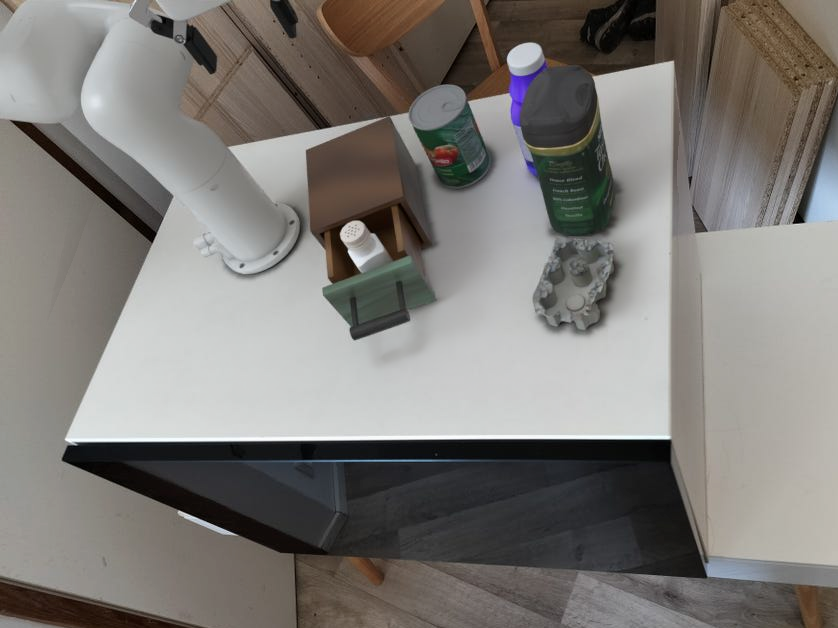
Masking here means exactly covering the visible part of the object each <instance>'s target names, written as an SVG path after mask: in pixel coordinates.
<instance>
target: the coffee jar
mask: <svg viewBox="0 0 838 628" xmlns="http://www.w3.org/2000/svg"><path fill="white" fill-rule="evenodd" d="M547 67H548V68H544V69H543V71H542V72H541V73H539V74H538V75H537V76H536V77H535V78H534V79H533V80H532V82H531V83H530V85H529V87H528V89H527V92H526V94H525V97H524V100H523V103H522V107H521V111H520V115H519V121H520V126H521V131H522V135H523V138H524V141H525V144H526V146H527V147H528V149H529V151H530V153H531V156H532V159H533V162H534V166H535V169H536V173H537V176H536V177H537V179H538V183H539V186H540V191H541V194H542V197H543V202H544V205H545V209H546V213H547V216H548V220H549V223H550V226H551V228H552V229H553V231H555V232H557V234H560V235H563V236H569V237H570V236H571V237H585V236H589V235H594V234H596V233H598V232H601V231H602V230H603V229H605V227H607V225H608V223H609V221H610V219H611V216H612V213H613V210H614V204H615V199H616V184H615V180H614V175H613V171H612V167H611V162H610V159H609V155H608V150H607V149H608V148H607V143H606V140H605V135H604V130H603V123H602V118H601V109H600V101H599V95H598V92H597V88H596V82H595V80H594V77H593V75H592V74H591V73H590V72H589V71H588V70H587V69H586V68H584V67H582V66H581V65H579V64H569V65H568V64H567V65H557V66H556V65H555V66H547Z"/></svg>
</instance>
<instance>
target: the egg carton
mask: <svg viewBox="0 0 838 628" xmlns="http://www.w3.org/2000/svg"><path fill="white" fill-rule="evenodd" d="M550 252H551V253H550V256H549V257H548V259H547V262H546V263H545V264H544V267H543V270H542V273H541V276H540V278H539V281H538V284H537V285H536V287H535V289H534V291H533V294H532V304H533V308H534V312H535V314H537V315H542V316H543V317H545V318H546V320H547V322H548V324H549V325H550V326H553V327H555V328H556V327H558V326H559V325H560V323H562V322H566V323H572V321H574V323H575V326H576V329H578V330H582V331H586V330H587V329H588V327H589V326H591V325H592V324H595V323H597V322H599V320H600V318H601V314H600V313H601V310H600V309H599V306H598V304H597V301H598V300H601V299H603V298H604V299H605V298H606V294H607V280H608V278H609V277H610V275H612V274H613V272H614V271H615V265H614V264H613V257H614V256H615V251H614V244H613V243H612V242H608V243H607V244H605V243H602V242H599V241H598V240H587V239H582V238H578V237H574V238H569V237H566V236H561V235H557V236H556V237H555V240H554V242H553V246H552V249H551V251H550Z"/></svg>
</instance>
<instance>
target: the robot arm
mask: <svg viewBox="0 0 838 628" xmlns="http://www.w3.org/2000/svg"><path fill="white" fill-rule="evenodd" d="M152 1H153V0H132V1H131V3H128V2H127V3H126V2H120V1H115V0H114V1H113V0H25V1H23V2H22V3H21V4H20V5H19V6H18V8H16V9H15V11H14V13H13V14H12V15H11V17H10V19H9V20H8V22H7V24H6V25H5V27H4V28H3V29H2V30H1V31H0V119H1V120H7V121H8V120H9V121H16V122H25V123H33V124H43V125H44V124H45V125H52V124H53V125H54V124H62V123H64V122H65V121H68V120H69V119H71V118H72V116H73V115H74V114H75V112H76V111H77V110H78V108H79V106H80V105H81V111H82V113H83V116H84V117H85V119H86V121H87V123H88V124H89V126H90V127H91V128H92V129H93V130H94V131H95V132H96V133H97V134H98V135H99V136H100V137H102V138H103V139H105V140H106V141H107V142H108V143H110V144H111V145H113V146H114V147H116V148H118V149H119V150H120V151H122V152H124V153H125V154H126V155H128V156H129V157H131V158H132V159H133V160H134V161H136V162H137V163H138V164H139V165H140V166H141V167H142V168H144V169H145V170H146V171H147V172H148V173H149V174H150V175H151V176H152V177H153V178H154V179H155V180H156V181H157V182H158V183H159V184H161V185H162V186H163V188H165V190H167V191H168V192H169V193H170V194H171V195H172V196H173V197H174V198H175V199H176V200H177V201H178V202H179V203H180V204H181V205H182V207H184V208H185V209H186V211H188V212H189V213H190V214H191V215H192V216H193V217H194V218H195V219H196V220H197V221H198V222H199V223H200V224H201V225H202V226H203V227H204V228H205V229H206V231H208V232H205V233H202V234H200V235H197V236H194V237H193V244H194V246H195V248H196V249H198V250H200V253H201V255H202V256H203V258H208V257H210V256H214V254H217V253H218V254H221V255H222V260H223V261H224V264H226V265H227V266H228V267H229V268H230V269H231V270H232V271H233V272H235V273H238V274H243V275H253V274H257V273H260V272H264V271H266V270H268V269H270V268H272V267H274V266H275V265H276V264H278V263H279V262H280V261H282V260H283V259H284V258H285V257H286V256H287V255H288V254H289V253H290V251H291V250H292V249H293V248H294V246H295V244H296V242H297V240H298V239H299V234H300V230H301V222H300V218H299V215H298V214H297V213H296V212H295V210H294V209H293V208H292V207H291V206H289V205H288V204H285V203H282V202H274V201H273V200H272V199H271V198H270V196H269V195H268V194H267V193H266V192H265V190H264V189H263V188H262V187H261V185H260V184H259V183H258V182H257V181H256V179H255V178H254V177H253V176H252V175H251V173H250V172H249V171H248V170H247V168H245V166H244V165H243V164H242V163H241V162H240V160H239V159H238V158H237V156H235V154H234V153H233V152H232V150H230V148H229V147H228V146H227V145H226V143H225V142H223V140H222V139H221V138H220V136H219V135H218V134H217V133H216V132H215V131H214V130H213V129H212V128H211V127H210V126H208V125H207V124H206V123H203V122H202V121H199V120H197V119H194V118H192V117H189V116H187V115H186V114H185V113H183V111H182V108H181V102H182V98H183V95H184V92H185V89H186V86H187V83H188V81H189V79H190V75H191V72H192V69H193V66H194V62H196V64H197V65H198V66H200V67H202V66H203V67H204V69H205V70H206V71H207V73H208V74H209V75H214V74H216V72H217V69H218V68H217V67H218V55H217V54H216V52H215V51H214V49H213V48H212V47H211V45H210V44H209V43H208V41H207V40H206V39H205V38H204V36H203V35H202V33H201V32H200V30H199V29H198V28H197V27H196V26H194V25H193V24H191V25H190V24H189V23H188V21H190V20H192V19H194V18H197V17H200V16H202V15H204V14H206V13H208V12H211V11H212V10H215V9H218V8H220V7H221V6H224V5H226V4H228V3H230V2H232V1H233V0H155V2H156V4H157V5H158V6H159V7H160V9H161V10H162V11H160V10H158V9H155V8H152V7H150V5H151V3H152ZM269 7H270V9H271V11H272V12H273V15H274V16H275V17H276V19H277V21H278V23H279V24H280V26H281V27H282V29H283V31H284V32H285V34H286V35H287V37H288V38H289V39H291V40H294V39H295V38H297V37H298V34H297V24H299V18H298V14H297V13H296V11H295V9H294V7H293V5H292V4H291V2H290V0H269Z"/></svg>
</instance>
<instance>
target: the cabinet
mask: <svg viewBox="0 0 838 628" xmlns="http://www.w3.org/2000/svg"><path fill="white" fill-rule="evenodd" d="M305 162H306V163H305V164H306V178H307V179H306V181H307V196H308V197H307V198H308V213H309V227H310V229H309V230H310V233H311V235H312V236H313V237H314V238H315V239H316V241H317V242H318V243H319V244H320V246H321V247H322V248H323V250H324V251H326V249H325V236H324V232H325V231H327V230H330V229H332V228H335V227H338V226H340V225H343V224H346V223H348V222H351V221H353V220H356V219H359V218H361V217H364V216H366V215H369V214H372V213H374V212H377V211H379V210H382V209H385V208H387V207H390V206H392V205H395V204H398V203H401V205H402V207H403V208H404V210H405V212H406V213H407V215H408V217H409V218H410V220H411V222H412V223H413V225H414V227H415V228H416V230H417V232H418V237H419V242H420V248H421V250H423V249H425V248H428V247H430V246H432V245H433V243H432V237H431V233H430V226H429V222H428V217H427V211H426V206H425V200H424V196H423V191H422V185H421V180H420V175H419V170H418V167H417V164H416V162H415V161H414V159H413V157H412V155H411V153H410V151H409V150H408V147H407V145H406V143H405V142H404V140H403V138H402V136H401V134H400V132H399V131H398V129H397V127H396V125H395V123H394V121H393V119H392V117H391V116H390V115H388V116H386V117H383V118H381V119H379V120H376V121H373V122H371V123H368V124H366V125H364V126H361V127H359V128H357V129H354V130H351V131H349V132H347V133H344V134H342V135H339V136H337V137H334V138H331V139H329V140H327V141H325V142H322V143H319V144H317V145H315V146H312V147H309V148H308V149H305Z"/></svg>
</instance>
